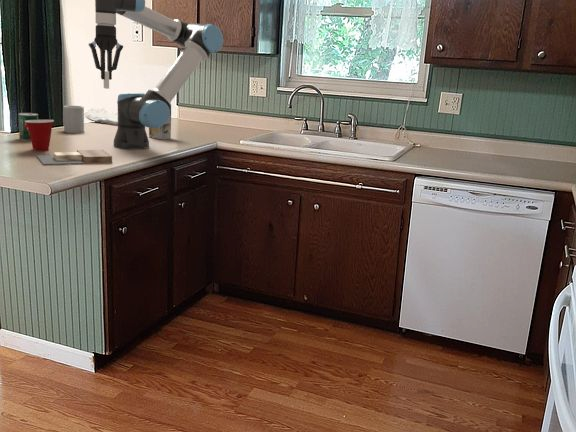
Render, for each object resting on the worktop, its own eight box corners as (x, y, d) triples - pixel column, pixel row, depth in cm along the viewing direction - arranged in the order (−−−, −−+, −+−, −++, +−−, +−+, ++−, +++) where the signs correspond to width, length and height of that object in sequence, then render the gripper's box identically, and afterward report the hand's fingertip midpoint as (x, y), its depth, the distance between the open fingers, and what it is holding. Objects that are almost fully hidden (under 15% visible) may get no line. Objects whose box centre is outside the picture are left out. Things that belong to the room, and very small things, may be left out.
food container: (95, 113, 339) (92, 105, 335) (137, 123, 327) (135, 114, 324) (81, 124, 331) (78, 115, 328) (124, 134, 320) (121, 124, 316)
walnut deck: (103, 155, 239) (103, 149, 239) (112, 162, 228) (112, 156, 227) (77, 156, 234) (77, 150, 234) (84, 163, 223) (84, 156, 222)
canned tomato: (32, 141, 258) (30, 115, 255) (15, 139, 260) (14, 113, 257) (42, 139, 266) (41, 114, 263) (26, 137, 267) (25, 112, 264)
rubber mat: (75, 156, 235) (75, 154, 235) (83, 164, 222) (83, 162, 222) (36, 156, 228) (36, 155, 228) (43, 165, 215) (43, 163, 215)
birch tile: (78, 157, 231) (78, 152, 230) (81, 160, 226) (81, 154, 225) (53, 157, 226) (53, 152, 226) (56, 160, 221) (56, 155, 221)
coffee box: (171, 138, 294) (172, 105, 289) (163, 139, 288) (163, 106, 284) (156, 136, 297) (157, 103, 293) (148, 137, 292) (148, 103, 288)
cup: (80, 133, 288) (79, 108, 285) (61, 132, 288) (60, 106, 285) (86, 130, 297) (86, 106, 294) (68, 129, 297) (67, 105, 294)
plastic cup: (42, 146, 250) (41, 117, 246) (60, 149, 245) (59, 120, 242) (19, 148, 240) (18, 118, 237) (38, 152, 236) (37, 122, 232)
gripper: (120, 26, 235) (120, 87, 242) (86, 23, 229) (87, 86, 235) (125, 26, 229) (125, 89, 235) (90, 23, 223) (91, 88, 229)
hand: (106, 88), depth 235 cm, fingers closed
